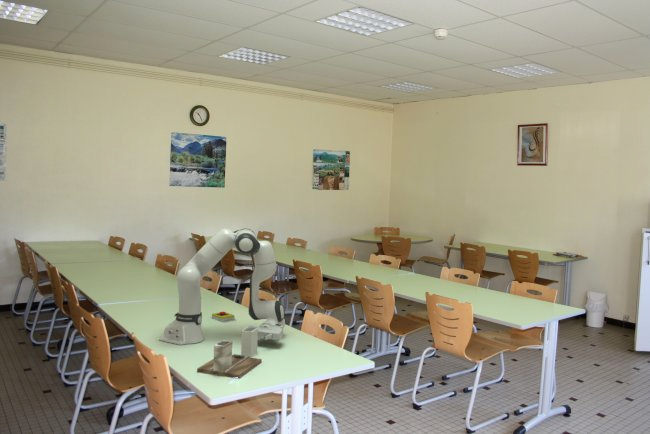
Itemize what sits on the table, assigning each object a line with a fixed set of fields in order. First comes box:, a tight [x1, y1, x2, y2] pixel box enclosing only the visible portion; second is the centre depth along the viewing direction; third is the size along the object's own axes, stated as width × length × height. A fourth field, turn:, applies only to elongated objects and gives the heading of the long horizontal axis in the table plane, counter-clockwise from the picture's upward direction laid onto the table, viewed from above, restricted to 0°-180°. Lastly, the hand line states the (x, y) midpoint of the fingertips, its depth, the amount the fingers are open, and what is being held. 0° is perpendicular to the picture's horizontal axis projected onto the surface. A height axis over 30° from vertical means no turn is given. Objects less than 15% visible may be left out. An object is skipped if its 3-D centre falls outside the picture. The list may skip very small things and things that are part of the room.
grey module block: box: [240, 326, 259, 358], centre depth 255 cm, size 5×7×12 cm
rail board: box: [196, 340, 263, 379], centre depth 237 cm, size 20×22×13 cm
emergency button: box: [210, 311, 237, 324], centre depth 319 cm, size 9×4×15 cm
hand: (256, 337), depth 262 cm, fingers open, 8 cm apart
